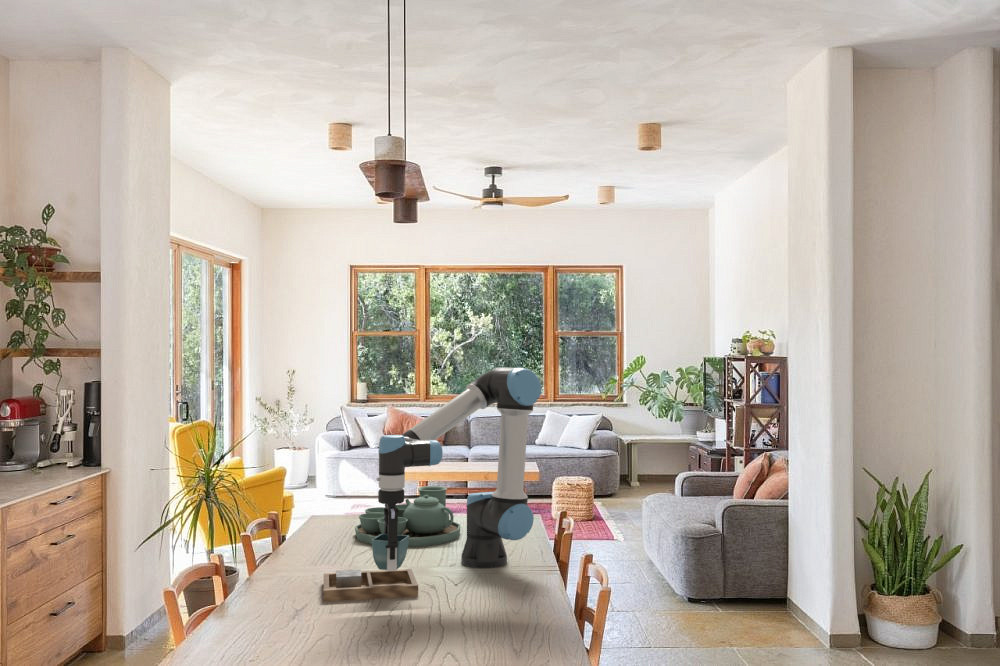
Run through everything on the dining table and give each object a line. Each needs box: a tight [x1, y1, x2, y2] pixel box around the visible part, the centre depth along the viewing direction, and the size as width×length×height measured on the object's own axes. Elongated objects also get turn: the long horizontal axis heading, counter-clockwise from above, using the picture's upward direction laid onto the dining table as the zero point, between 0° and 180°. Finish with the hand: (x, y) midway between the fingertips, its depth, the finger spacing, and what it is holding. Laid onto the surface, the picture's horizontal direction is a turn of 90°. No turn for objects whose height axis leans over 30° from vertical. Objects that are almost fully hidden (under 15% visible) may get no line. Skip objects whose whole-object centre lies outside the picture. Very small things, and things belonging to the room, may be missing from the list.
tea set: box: [354, 485, 461, 548], centre depth 314 cm, size 40×40×16 cm
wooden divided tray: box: [322, 568, 419, 603], centre depth 238 cm, size 26×18×4 cm
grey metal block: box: [335, 569, 362, 588], centre depth 237 cm, size 7×7×5 cm
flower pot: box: [371, 534, 409, 571], centre depth 240 cm, size 9×9×9 cm
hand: (390, 565), depth 240 cm, fingers closed on flower pot, 10 cm apart
